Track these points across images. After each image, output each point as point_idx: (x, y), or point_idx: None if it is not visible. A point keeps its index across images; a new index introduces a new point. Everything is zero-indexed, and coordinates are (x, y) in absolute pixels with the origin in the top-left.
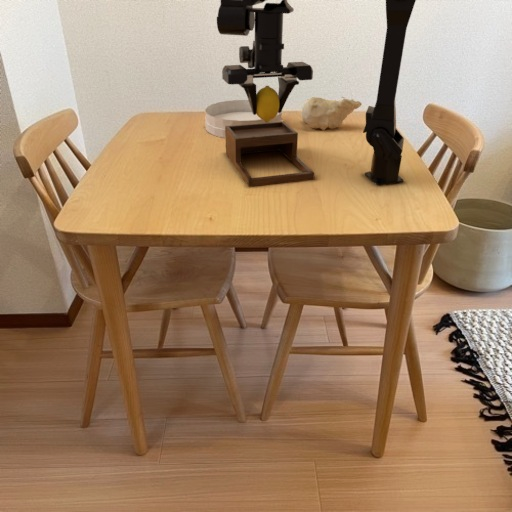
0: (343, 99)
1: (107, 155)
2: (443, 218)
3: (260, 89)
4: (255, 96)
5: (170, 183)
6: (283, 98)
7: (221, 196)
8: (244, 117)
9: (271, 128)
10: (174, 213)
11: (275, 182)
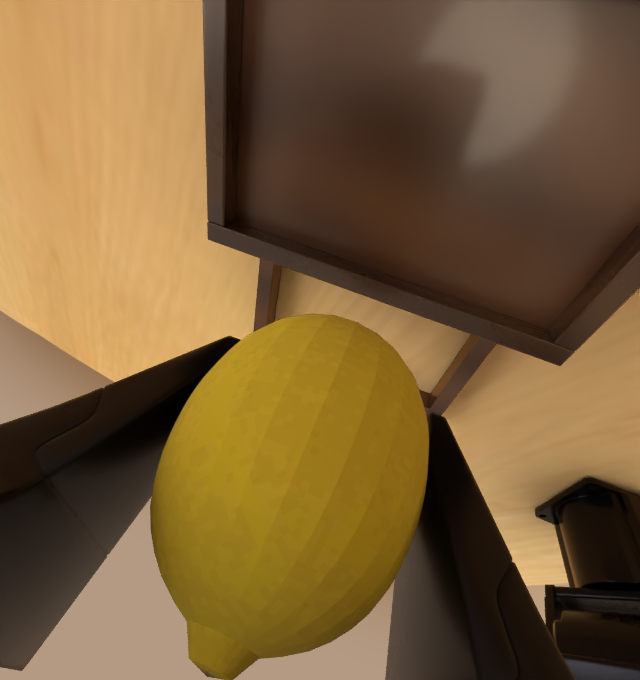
0: None
1: None
2: None
3: (161, 553)
4: (123, 521)
5: (76, 199)
6: (399, 594)
7: (191, 336)
8: None
9: (621, 61)
10: (106, 337)
11: None
